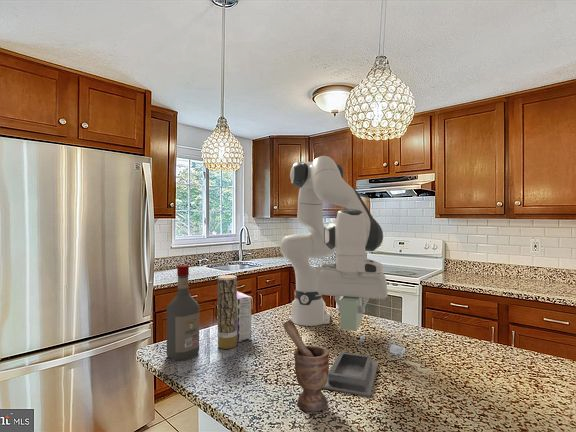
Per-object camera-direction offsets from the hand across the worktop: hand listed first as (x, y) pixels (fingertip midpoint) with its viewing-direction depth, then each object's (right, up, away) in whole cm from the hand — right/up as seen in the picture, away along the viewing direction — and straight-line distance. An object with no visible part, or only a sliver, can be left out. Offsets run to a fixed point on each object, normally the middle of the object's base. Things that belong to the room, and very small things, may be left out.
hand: (351, 311), depth 99 cm
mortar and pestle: (-14, -19, -15) cm, 28 cm away
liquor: (-54, -19, +16) cm, 59 cm away
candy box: (-38, -19, +34) cm, 55 cm away
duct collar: (0, -19, 0) cm, 19 cm away
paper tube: (-40, -19, +23) cm, 50 cm away
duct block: (0, -4, 0) cm, 4 cm away
